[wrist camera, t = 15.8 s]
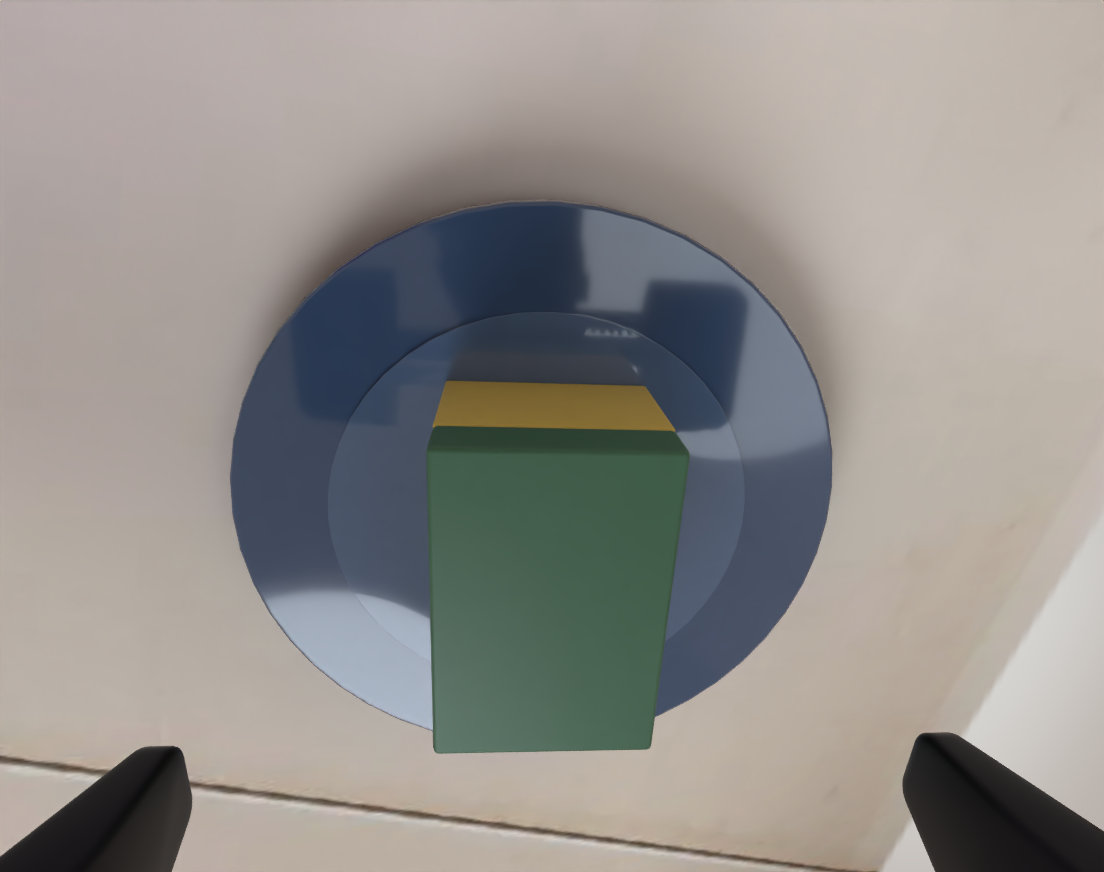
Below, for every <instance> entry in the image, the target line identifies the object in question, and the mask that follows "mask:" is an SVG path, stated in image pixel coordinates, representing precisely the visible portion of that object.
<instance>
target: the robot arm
mask: <svg viewBox="0 0 1104 872" xmlns="http://www.w3.org/2000/svg"><path fill="white" fill-rule="evenodd" d="M902 787H903V794H904V798H905V801H906V803H907V806H908V808H909V811H910V813H911V815H912V818H913V820H914V822H915V825H916V827H917V830H918V832H919V834H920V837H921V839H922V841H923V844H924V846H925V849H926V851H927V853H928V855H929V858H930V860H931V863H932V865H933V867H934V870H935V872H1104V831H1102V830H1101V829H1099V828H1098V827H1096V826H1095V825H1093V824H1092V823H1090V822H1089V821H1087V820H1086V819H1084V818H1082V817H1081V816H1079V815H1078V814H1076V813H1075V812H1073V811H1072V810H1070V809H1069V808H1067V807H1066V806H1064V805H1063V804H1061V803H1060V802H1058V801H1057V800H1055V799H1054V798H1052V797H1051V796H1049V795H1048V794H1046V793H1045V792H1043V791H1041V790H1040V789H1039V788H1037V787H1035V786H1034V785H1032V784H1031V783H1030V782H1028V781H1026V780H1025V779H1023V778H1022V777H1020V776H1019V775H1017V774H1016V773H1014V772H1013V771H1011V770H1010V769H1008V768H1007V767H1005V766H1004V765H1002V764H1001V763H999V762H998V761H996V760H995V759H993V758H992V757H990V756H989V755H987V754H986V753H984V752H982V751H981V750H980V749H978V748H976V747H975V746H973V745H972V744H970V743H969V742H967V741H966V740H964V739H963V738H961V737H960V736H958V735H956V734H953V733H946V732H944V733H923V734H921V735H919V736H918V737H917V738H916V741H915V743H914V746H913V749H912V752H911V755H910V758H909V761H908V764H907V767H906V770H905V773H904V776H903V785H902ZM191 809H192V793H191V788H190V784H189V779H188V774H187V769H186V765H185V760H184V756H183V753H182V751H181V750H180V749H179V748H178V747H175V746H151V747H143V748H141V749H139V750H137V751H135V752H134V753H132V754H131V755H130V756H128V757H127V758H126V759H125V760H123V761H122V762H121V763H119V764H118V765H117V766H116V767H114V768H113V769H112V770H110V771H109V772H108V773H107V774H105V775H104V776H103V777H102V778H100V779H99V780H98V781H96V782H95V783H94V784H93V785H91V786H90V787H89V788H87V789H86V790H85V791H84V792H82V793H81V794H80V795H78V796H77V797H76V798H75V799H73V800H72V801H71V802H70V803H68V804H67V805H66V806H64V807H63V808H62V809H61V810H59V811H58V812H57V813H55V814H54V815H53V816H52V817H50V818H49V819H48V820H46V821H45V822H44V823H43V824H41V825H40V826H39V827H38V828H36V829H35V830H34V831H32V832H31V833H30V834H29V835H27V836H26V837H25V838H23V839H22V840H21V841H20V842H18V843H17V844H16V845H14V846H13V847H12V848H11V849H9V850H8V851H7V852H6V853H4V854H3V855H2V856H0V872H172V869H173V866H174V863H175V860H176V857H177V854H178V851H179V848H180V845H181V842H182V839H183V837H184V834H185V831H186V828H187V825H188V822H189V818H190V814H191Z"/></svg>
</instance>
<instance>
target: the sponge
mask: <svg viewBox="0 0 1104 872" xmlns="http://www.w3.org/2000/svg"><path fill="white" fill-rule="evenodd" d="M689 460H690V453H689V451H688V449H687V448H686V446H685V445H684V444H683V442H682V441H681V439H680V438H679V436H678V435H677V433H676V432H675V429H674V427H673V426H672V424H671V423H670V421H669V420H668V418H667V417H666V416H665V414H664V413H663V411H662V410H661V408H660V407H659V405H658V404H657V403H656V401H655V400H654V398H653V397H652V395H651V394H650V392H649V391H648V390H647V388H646V387H645V386H628V385H591V384H553V383H515V382H477V381H446V383H445V386H444V389H443V393H442V396H441V400H440V403H439V406H438V410H437V413H436V416H435V420H434V423H433V430H432V432H431V436H430V439H429V443H428V446H427V449H426V468H427V509H428V550H429V591H430V632H431V674H432V715H433V748H434V751H435V752H436V753H486V752H538V751H590V750H642V749H649V748H650V746H651V741H652V734H653V726H654V719H655V712H656V704H657V697H658V689H659V682H660V675H661V667H662V660H663V652H664V645H665V638H666V630H667V623H668V615H669V608H670V601H671V593H672V586H673V578H674V571H675V563H676V556H677V549H678V541H679V534H680V526H681V519H682V512H683V504H684V497H685V489H686V482H687V475H688V467H689Z"/></svg>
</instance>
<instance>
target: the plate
mask: <svg viewBox="0 0 1104 872" xmlns="http://www.w3.org/2000/svg"><path fill="white" fill-rule="evenodd" d="M446 381H477V382H515V383H553V384H591V385H628V386H645V387H646V388H647V390H648V391H649V392H650V394H651V395H652V397H653V398H654V400H655V401H656V403H657V404H658V405H659V407H660V408H661V410H662V411H663V413H664V414H665V416H666V417H667V418H668V420H669V421H670V423H671V424H672V426H673V427H674V429H675V432H676V433H677V435H678V436H679V438H680V439H681V441H682V442H683V444H684V445H685V446H686V448H687V449H688V451H689V453H690V460H689V467H688V475H687V482H686V489H685V497H684V504H683V512H682V519H681V526H680V534H679V541H678V549H677V556H676V563H675V571H674V578H673V586H672V593H671V601H670V608H669V615H668V623H667V630H666V638H665V645H664V652H663V660H662V667H661V675H660V682H659V689H658V697H657V704H656V712H655V717H656V716H659V715H661V714H663V713H665V712H667V711H669V710H671V709H673V708H675V707H677V706H679V705H680V704H682V703H684V702H686V701H688V700H690V699H692V698H693V697H695V696H696V695H698V694H699V693H701V692H702V691H704V690H706V689H707V688H709V687H710V686H712V685H713V684H715V683H716V682H718V681H719V680H720V679H721V678H723V677H724V676H725V675H726V674H728V673H729V672H730V671H731V670H732V669H734V668H735V667H736V666H737V665H739V664H740V663H741V662H742V661H743V660H744V659H745V658H746V657H747V656H748V655H749V654H750V653H751V652H752V651H753V650H754V649H755V648H756V647H757V646H758V645H759V644H760V643H761V642H762V641H763V640H764V639H765V638H766V637H767V635H768V634H769V633H770V632H771V630H772V629H773V628H774V627H775V625H776V624H777V623H778V621H779V620H780V619H781V618H782V616H783V615H784V614H785V613H786V611H787V609H788V608H789V606H790V604H791V603H792V601H793V600H794V598H795V596H796V595H797V593H798V591H799V590H800V588H801V586H802V585H803V583H804V581H805V578H806V576H807V574H808V572H809V569H810V567H811V565H812V563H813V560H814V558H815V556H816V554H817V551H818V547H819V544H820V541H821V537H822V534H823V531H824V527H825V524H826V520H827V514H828V508H829V501H830V495H831V488H832V447H831V439H830V432H829V424H828V417H827V412H826V409H825V405H824V402H823V398H822V395H821V392H820V388H819V385H818V381H817V379H816V376H815V374H814V372H813V370H812V368H811V365H810V363H809V361H808V359H807V357H806V355H805V352H804V350H803V348H802V346H801V344H800V343H799V341H798V340H797V338H796V337H795V335H794V334H793V332H792V331H791V329H790V328H789V326H788V324H787V323H786V321H785V320H784V318H783V317H782V315H781V314H780V313H779V312H778V310H777V309H776V308H775V307H774V306H773V305H772V304H771V303H770V301H769V300H768V299H767V298H766V297H765V296H764V295H763V294H762V293H761V291H760V290H759V289H758V288H757V287H756V286H755V285H754V284H753V283H752V282H751V281H750V280H749V279H747V278H746V277H745V276H744V275H743V274H741V273H740V272H739V271H738V270H736V269H735V268H734V267H733V266H732V265H730V264H729V263H728V262H727V261H726V260H724V259H723V258H722V257H720V256H719V255H717V254H716V253H714V252H712V251H711V250H709V249H707V248H706V247H704V246H702V245H701V244H699V243H697V242H696V241H694V240H693V239H691V238H689V237H688V236H686V235H684V234H682V233H679V232H677V231H674V230H672V229H670V228H667V227H665V226H663V225H660V224H658V223H656V222H653V221H651V220H649V219H646V218H644V217H640V216H636V215H632V214H628V213H625V212H621V211H617V210H613V209H610V208H606V207H602V206H598V205H594V204H585V203H577V202H569V201H560V200H552V199H548V200H507V201H501V202H495V203H488V204H482V205H476V206H470V207H464V208H461V209H458V210H455V211H451V212H448V213H445V214H442V215H439V216H435V217H432V218H429V219H426V220H423V221H421V222H418V223H416V224H414V225H412V226H410V227H408V228H406V229H404V230H401V231H399V232H397V233H395V234H393V235H391V236H389V237H387V238H384V239H382V240H380V241H378V242H376V243H375V244H373V245H372V246H370V247H369V248H367V249H365V250H364V251H362V252H361V253H359V254H358V255H356V256H355V257H353V258H352V259H350V260H349V261H347V262H346V263H344V264H343V265H341V266H340V267H338V268H337V269H336V270H335V271H334V272H333V273H332V274H330V275H329V276H328V277H327V278H326V279H325V280H324V281H323V282H322V283H320V284H319V285H318V286H317V287H316V288H315V289H314V290H313V291H311V292H310V293H309V294H308V295H307V296H306V297H305V298H304V299H303V301H302V302H301V303H300V304H299V305H298V307H297V308H296V309H295V310H294V311H293V313H292V314H291V315H290V316H289V317H288V319H287V320H286V321H285V322H284V323H283V325H282V326H281V327H280V328H279V330H278V331H277V333H276V334H275V336H274V338H273V339H272V341H271V343H270V344H269V346H268V348H267V349H266V351H265V353H264V354H263V356H262V358H261V359H260V361H259V363H258V364H257V367H256V369H255V372H254V374H253V376H252V379H251V381H250V384H249V386H248V389H247V391H246V393H245V396H244V398H243V401H242V404H241V408H240V413H239V417H238V421H237V425H236V429H235V433H234V437H233V446H232V458H231V470H230V484H231V498H232V513H233V518H234V523H235V527H236V532H237V536H238V541H239V545H240V550H241V552H242V555H243V558H244V560H245V563H246V566H247V568H248V571H249V573H250V576H251V579H252V581H253V584H254V585H255V587H256V589H257V591H258V593H259V594H260V596H261V598H262V600H263V602H264V603H265V605H266V607H267V609H268V611H269V613H270V614H271V615H272V617H273V618H274V619H275V621H276V622H277V623H278V625H279V626H280V628H281V629H282V630H283V632H284V633H285V634H286V636H287V637H288V638H289V640H290V641H291V642H292V643H293V644H294V645H295V646H296V647H297V648H298V649H299V650H300V651H301V652H302V653H303V654H304V655H305V656H306V657H307V659H308V660H309V661H310V662H311V663H312V664H313V665H314V666H316V667H317V668H318V669H319V670H320V671H322V672H323V673H324V674H325V675H327V676H328V677H329V678H330V679H332V680H333V681H334V682H335V683H337V684H338V685H339V686H340V687H342V688H343V689H345V690H347V691H348V692H350V693H351V694H353V695H354V696H356V697H358V698H359V699H361V700H362V701H364V702H366V703H367V704H369V705H371V706H373V707H375V708H377V709H379V710H381V711H383V712H385V713H387V714H389V715H391V716H394V717H396V718H398V719H400V720H403V721H406V722H408V723H411V724H414V725H417V726H420V727H423V728H425V729H428V730H431V731H433V715H432V674H431V632H430V591H429V550H428V509H427V468H426V449H427V446H428V443H429V439H430V436H431V432H432V430H433V423H434V420H435V416H436V413H437V410H438V406H439V403H440V400H441V396H442V393H443V389H444V386H445V383H446Z"/></svg>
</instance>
